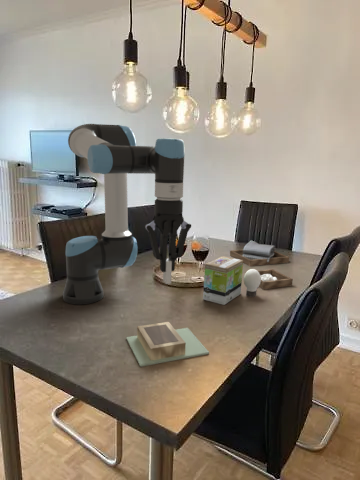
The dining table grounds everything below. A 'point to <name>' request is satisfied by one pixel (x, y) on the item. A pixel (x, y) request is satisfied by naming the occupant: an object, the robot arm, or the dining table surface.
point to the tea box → (222, 279)
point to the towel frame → (278, 259)
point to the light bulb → (252, 282)
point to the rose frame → (280, 282)
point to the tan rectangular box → (160, 340)
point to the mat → (191, 350)
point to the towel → (258, 251)
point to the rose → (267, 277)
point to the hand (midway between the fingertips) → (167, 282)
